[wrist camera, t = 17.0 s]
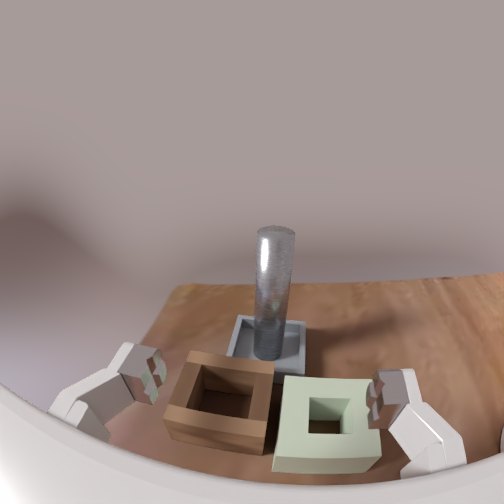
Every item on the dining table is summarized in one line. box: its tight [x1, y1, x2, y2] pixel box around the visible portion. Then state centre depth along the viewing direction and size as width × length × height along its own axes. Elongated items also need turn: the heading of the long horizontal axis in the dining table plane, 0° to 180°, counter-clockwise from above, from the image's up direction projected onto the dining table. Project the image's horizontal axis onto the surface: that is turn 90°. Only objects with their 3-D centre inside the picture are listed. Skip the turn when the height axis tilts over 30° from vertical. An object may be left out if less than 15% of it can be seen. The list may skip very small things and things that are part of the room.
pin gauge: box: [253, 226, 295, 361], centre depth 28 cm, size 3×3×14 cm
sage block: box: [272, 375, 382, 474], centre depth 21 cm, size 8×8×4 cm
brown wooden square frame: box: [162, 350, 275, 456], centre depth 23 cm, size 8×8×4 cm
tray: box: [226, 315, 306, 384], centre depth 31 cm, size 8×8×2 cm
